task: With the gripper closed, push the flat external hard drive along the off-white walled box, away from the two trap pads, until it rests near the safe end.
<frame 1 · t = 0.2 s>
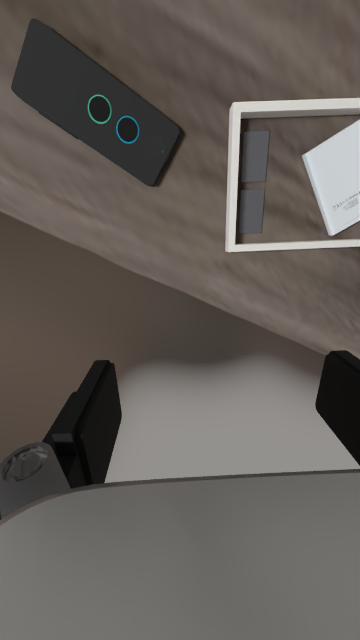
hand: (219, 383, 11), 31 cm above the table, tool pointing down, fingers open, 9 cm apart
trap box: (342, 182, 35), on the table
smart home device: (102, 116, 32), on the table
external hard drive: (339, 183, 36), on the table
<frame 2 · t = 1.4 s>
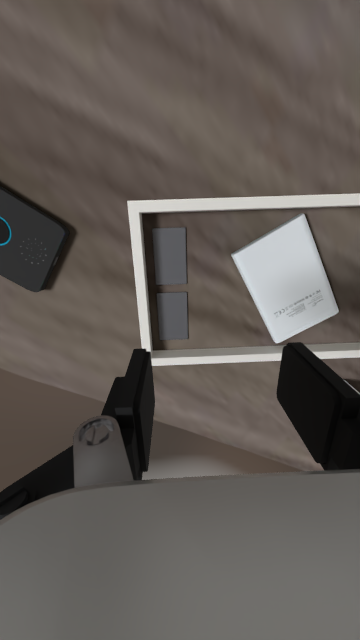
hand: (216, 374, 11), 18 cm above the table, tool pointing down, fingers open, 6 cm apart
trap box: (285, 284, 28), on the table
external hard drive: (282, 282, 29), on the table
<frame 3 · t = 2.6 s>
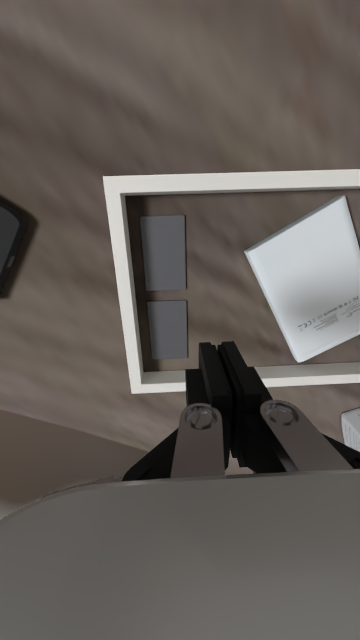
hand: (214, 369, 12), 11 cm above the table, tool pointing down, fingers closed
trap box: (312, 289, 22), on the table
external hard drive: (308, 286, 22), on the table
skincare box: (359, 424, 29), on the table
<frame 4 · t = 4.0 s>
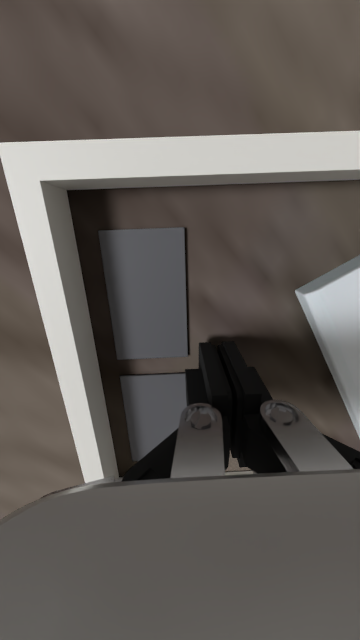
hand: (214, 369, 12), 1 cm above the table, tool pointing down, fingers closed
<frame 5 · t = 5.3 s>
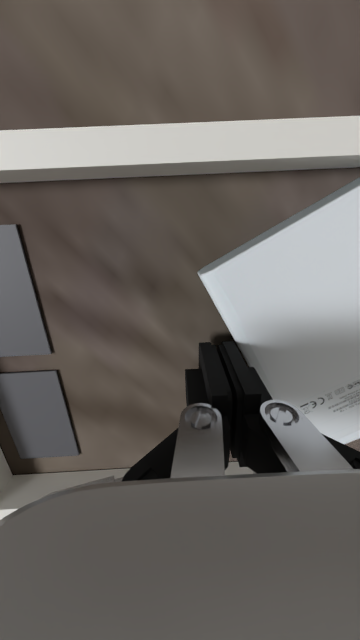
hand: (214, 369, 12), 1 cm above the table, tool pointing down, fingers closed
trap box: (278, 349, 12), on the table
external hard drive: (319, 332, 13), on the table, touching gripper
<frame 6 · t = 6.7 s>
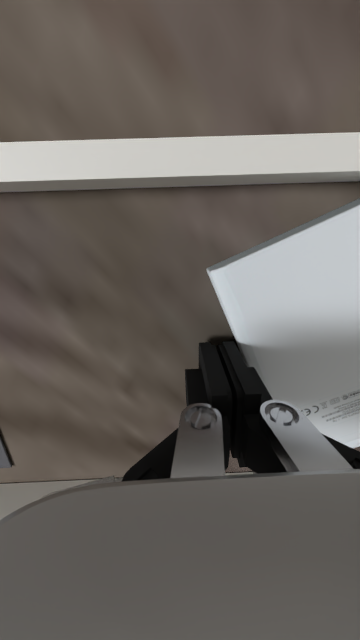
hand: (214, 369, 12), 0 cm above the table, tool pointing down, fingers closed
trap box: (203, 364, 12), on the table
external hard drive: (319, 341, 13), on the table
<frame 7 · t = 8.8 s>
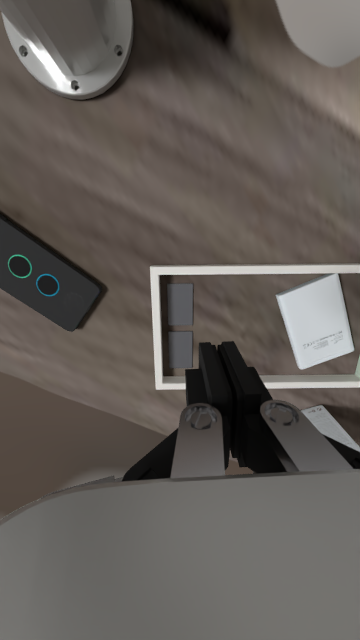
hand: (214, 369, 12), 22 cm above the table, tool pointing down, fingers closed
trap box: (271, 327, 35), on the table
smart home device: (26, 265, 33), on the table
external hard drive: (312, 320, 35), on the table
skincare box: (312, 420, 40), on the table
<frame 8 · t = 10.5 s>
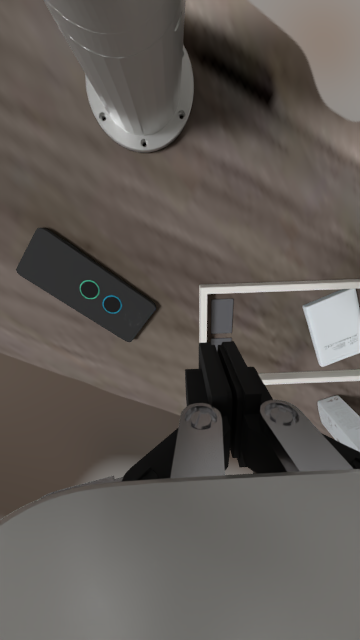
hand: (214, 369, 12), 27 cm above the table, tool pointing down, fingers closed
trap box: (297, 332, 41), on the table
smart home device: (92, 287, 38), on the table
external hard drive: (331, 325, 42), on the table
skincare box: (329, 408, 48), on the table
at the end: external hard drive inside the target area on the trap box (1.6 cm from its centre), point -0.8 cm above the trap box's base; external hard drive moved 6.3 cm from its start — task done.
